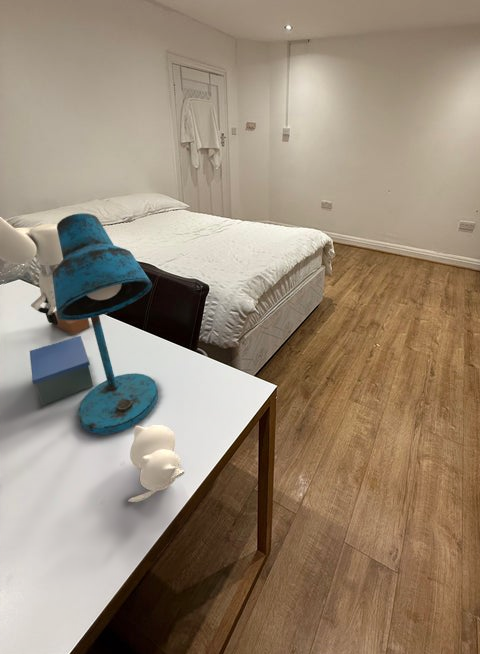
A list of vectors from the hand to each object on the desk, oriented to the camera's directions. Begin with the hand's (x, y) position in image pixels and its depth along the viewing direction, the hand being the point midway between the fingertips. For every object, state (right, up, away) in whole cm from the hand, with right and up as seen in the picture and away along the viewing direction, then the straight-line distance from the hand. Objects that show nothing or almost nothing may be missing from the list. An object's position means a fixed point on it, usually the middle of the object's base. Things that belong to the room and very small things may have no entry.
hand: (70, 315), depth 101 cm
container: (+13, -13, -20) cm, 27 cm away
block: (-1, -3, +1) cm, 3 cm away
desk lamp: (+32, -16, -27) cm, 45 cm away
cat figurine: (+45, -22, -40) cm, 64 cm away
